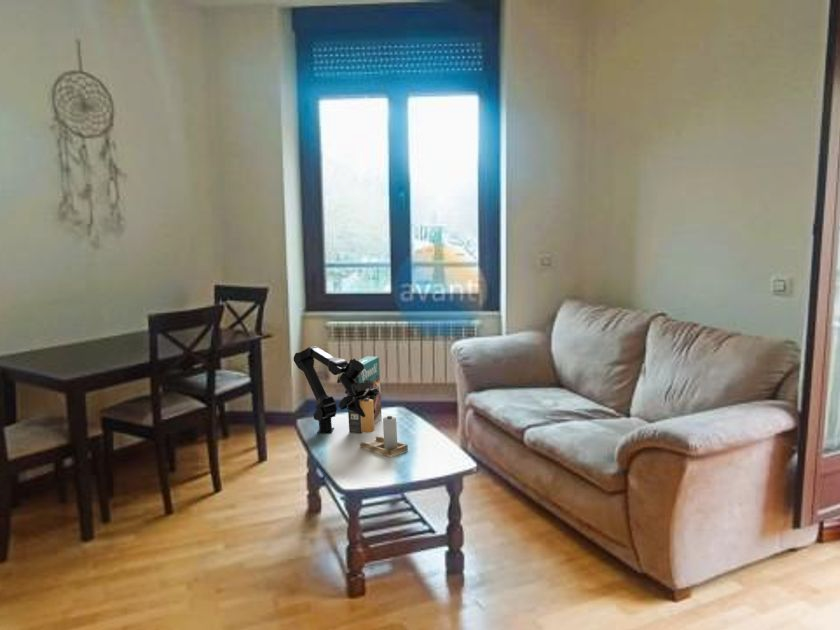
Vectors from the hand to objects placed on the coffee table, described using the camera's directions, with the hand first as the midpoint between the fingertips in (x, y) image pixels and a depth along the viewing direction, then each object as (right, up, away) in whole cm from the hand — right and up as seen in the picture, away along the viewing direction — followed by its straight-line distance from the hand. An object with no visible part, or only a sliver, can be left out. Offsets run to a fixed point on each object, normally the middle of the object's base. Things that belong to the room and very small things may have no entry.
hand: (369, 414), depth 283 cm
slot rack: (+6, -14, -3) cm, 15 cm away
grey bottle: (+9, -13, -6) cm, 17 cm away
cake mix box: (-4, -9, +29) cm, 30 cm away
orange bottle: (-1, -7, +2) cm, 7 cm away
